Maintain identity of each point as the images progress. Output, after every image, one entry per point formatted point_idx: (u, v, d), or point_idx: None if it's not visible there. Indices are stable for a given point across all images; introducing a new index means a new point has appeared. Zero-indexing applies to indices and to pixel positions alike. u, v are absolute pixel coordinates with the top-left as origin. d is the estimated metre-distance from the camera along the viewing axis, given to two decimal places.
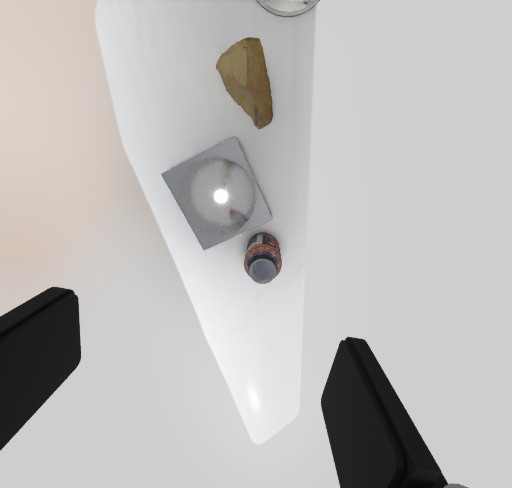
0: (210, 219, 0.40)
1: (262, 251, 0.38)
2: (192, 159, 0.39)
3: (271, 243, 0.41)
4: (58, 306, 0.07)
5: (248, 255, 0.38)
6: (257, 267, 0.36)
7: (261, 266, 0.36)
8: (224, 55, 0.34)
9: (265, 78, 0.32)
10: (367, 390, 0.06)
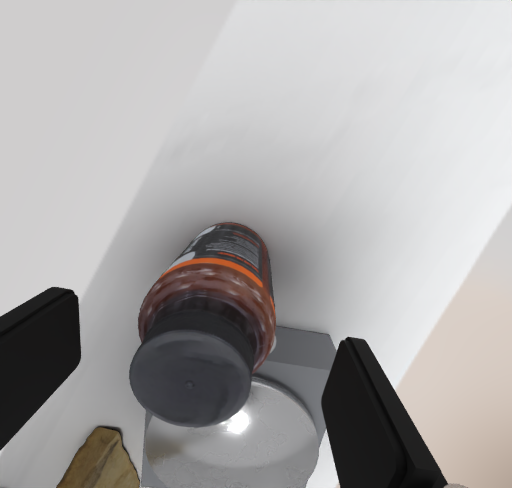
0: (274, 431, 0.17)
1: None
2: None
3: None
4: (58, 306, 0.07)
5: None
6: (198, 408, 0.08)
7: (181, 403, 0.08)
8: None
9: None
10: (367, 390, 0.06)
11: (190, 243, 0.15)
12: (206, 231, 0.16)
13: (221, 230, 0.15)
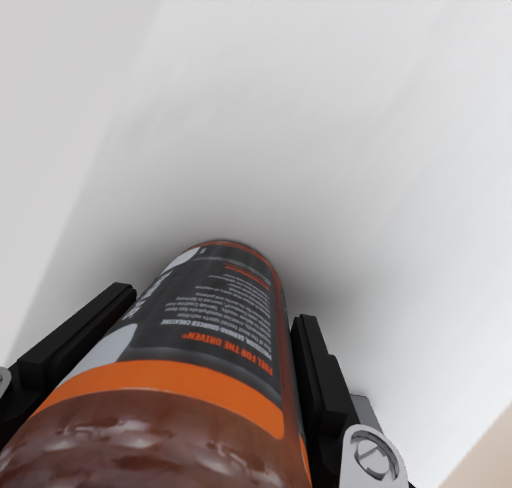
0: None
1: None
2: None
3: None
4: (124, 299, 0.08)
5: None
6: None
7: None
8: None
9: None
10: (304, 355, 0.07)
11: (154, 280, 0.09)
12: (182, 258, 0.10)
13: (205, 259, 0.09)
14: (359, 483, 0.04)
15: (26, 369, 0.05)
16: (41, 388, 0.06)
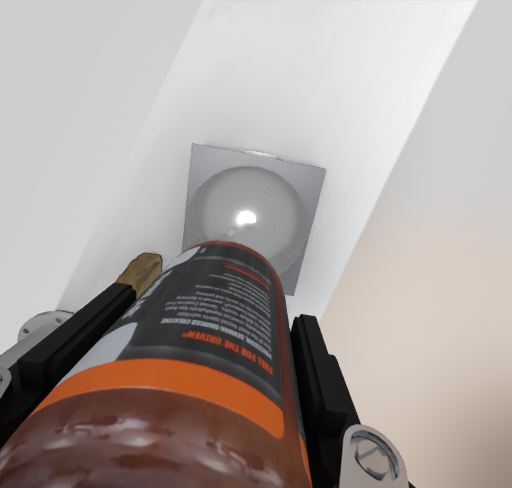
0: (276, 209, 0.24)
1: None
2: None
3: None
4: (124, 299, 0.08)
5: None
6: None
7: None
8: None
9: None
10: (304, 355, 0.07)
11: (154, 279, 0.09)
12: (182, 258, 0.10)
13: (205, 259, 0.09)
14: (359, 483, 0.04)
15: (26, 369, 0.05)
16: (41, 388, 0.06)
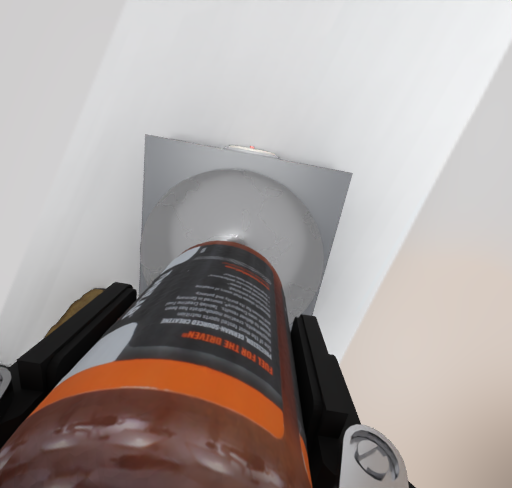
0: (276, 235, 0.16)
1: None
2: None
3: None
4: (124, 299, 0.08)
5: None
6: None
7: None
8: None
9: None
10: (304, 355, 0.07)
11: (154, 279, 0.09)
12: (182, 258, 0.10)
13: (206, 259, 0.09)
14: (359, 483, 0.04)
15: (26, 369, 0.05)
16: (41, 388, 0.06)
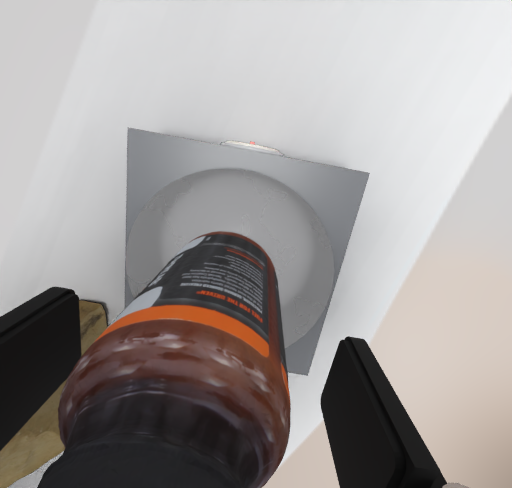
0: (279, 243, 0.14)
1: None
2: None
3: None
4: (59, 306, 0.07)
5: None
6: None
7: None
8: None
9: None
10: (366, 390, 0.06)
11: (168, 262, 0.11)
12: (191, 245, 0.12)
13: (210, 244, 0.11)
14: None
15: None
16: None
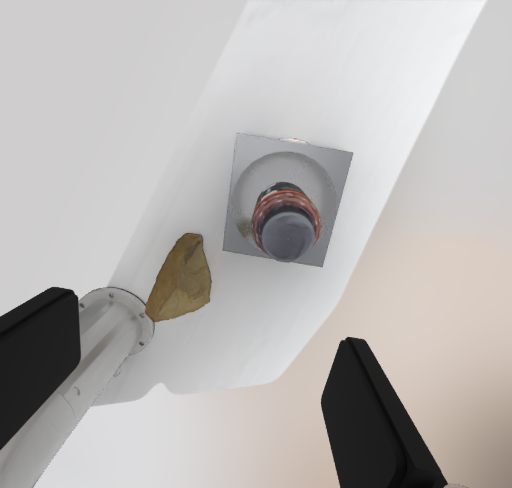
0: (309, 188, 0.28)
1: None
2: None
3: None
4: (58, 306, 0.07)
5: None
6: (291, 250, 0.19)
7: (283, 248, 0.19)
8: (191, 310, 0.35)
9: (158, 280, 0.31)
10: (367, 390, 0.06)
11: (262, 192, 0.26)
12: (271, 185, 0.26)
13: (282, 183, 0.25)
14: None
15: None
16: None
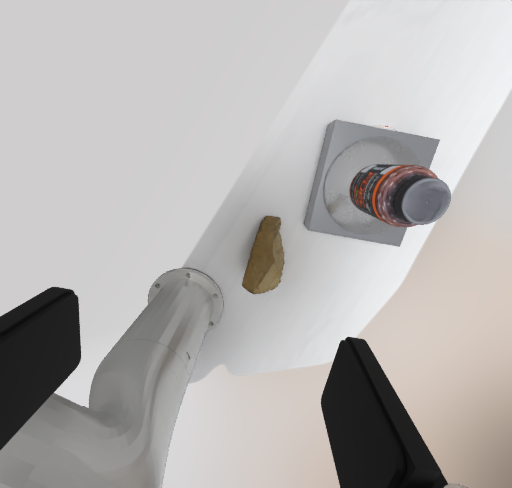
0: None
1: (394, 220, 0.24)
2: (361, 238, 0.35)
3: (367, 207, 0.27)
4: (58, 306, 0.07)
5: None
6: (427, 213, 0.21)
7: (421, 211, 0.21)
8: (271, 288, 0.37)
9: (253, 255, 0.33)
10: (367, 390, 0.06)
11: (366, 172, 0.28)
12: (372, 166, 0.29)
13: (384, 164, 0.28)
14: None
15: None
16: None
